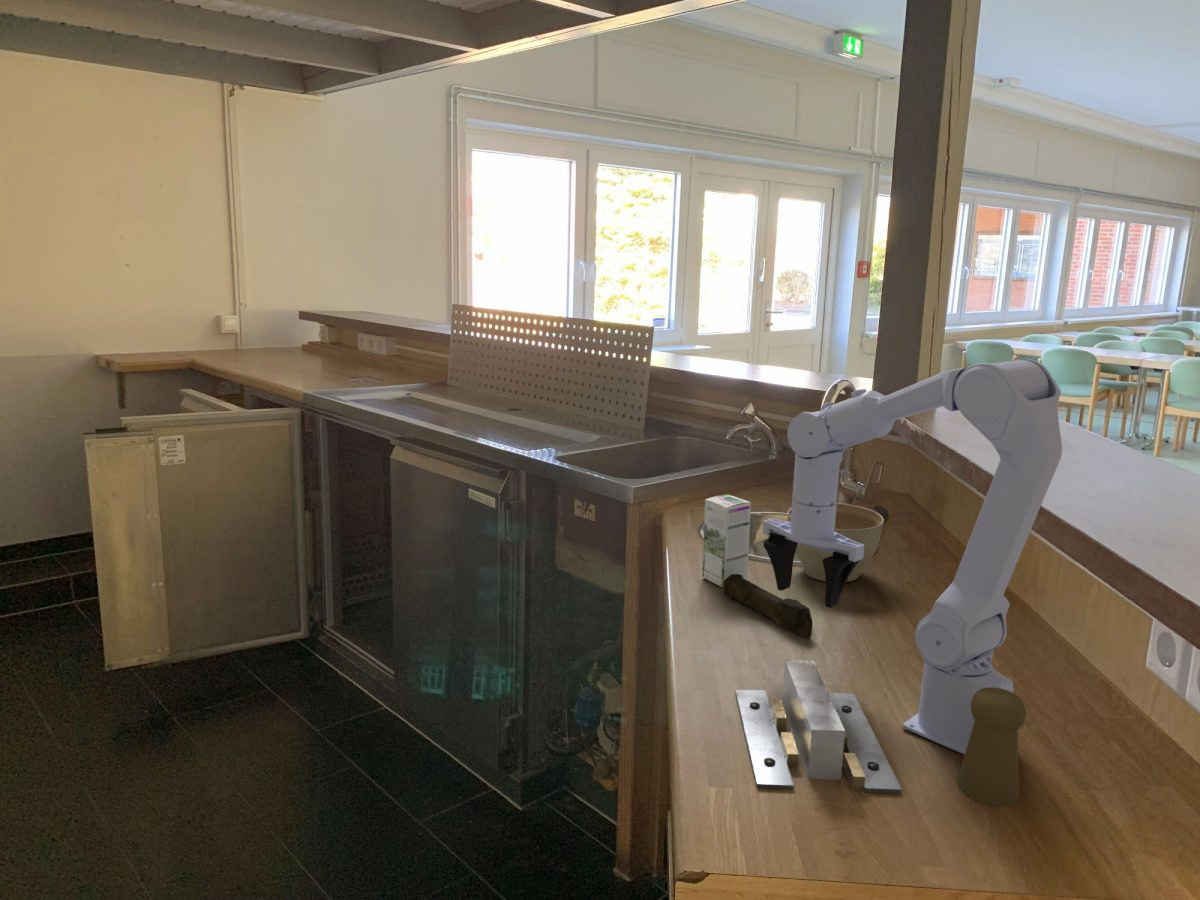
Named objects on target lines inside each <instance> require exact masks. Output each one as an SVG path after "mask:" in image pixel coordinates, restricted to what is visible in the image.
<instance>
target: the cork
mask: <svg viewBox="0 0 1200 900" xmlns="http://www.w3.org/2000/svg"><path fill="white" fill-rule="evenodd" d="M971 712H972V715H973V717H974V719H975V721H974V725H973V728H972V732H971V735H970V738H969V742H968V745H967V749H966V752H965V755H963V759H962V763H961V767H960V769H959V774H958V776H957V781H956V785H957V788H958V789H959V791H961V792H962V793H963V794H964V795H965V796H967V798H970V799H971V800H973V801H976V802H977V803H981V804H984V805H987V806H992V807H1009V806H1011V805H1015V804H1016V803H1017V802H1018V801H1019V797H1020V783H1019V782H1020V780H1019V779H1020V778H1019V777H1020V776H1019V773H1020V772H1019V729H1020V728H1022V727H1023V726H1024V724H1025V721H1026V716H1027V708H1026V705H1025V703H1024V701H1023V699H1022V698H1021V697H1020V696H1018V695H1017V694H1015V693H1014V692H1013V693H1012V692H1010V691H1007V690H1005V689H1001V688H994V687H990V688H983V689H980V690H979V691H977V692H976V693H975V694H974V696H973V698H972V701H971Z"/></svg>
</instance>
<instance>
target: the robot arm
mask: <svg viewBox="0 0 1200 900" xmlns="http://www.w3.org/2000/svg"><path fill="white" fill-rule="evenodd" d="M1061 394H1062V390H1061V388H1060V386H1059V385H1058V384H1057V383H1056V381H1055V379H1054V378H1053V376H1052V375H1051V373H1050V372H1049V370H1048V368H1046V366H1045V365H1043V363H1041V362H1039V361H1038V360H1035V359H1033V358H1032V359H1031V358H1026V357H1025V358H1023V357H1021V358H1015V359H1013V360H1011V361H1010V360H1009V361H1002V362H1001V361H1000V362H993V363H988V362H983V363H982V362H981V363H980V362H979V363H976V364H975V363H974V364H973V365H970V366H967V367H962V368H955V369H950V370H946V371H942V372H940V373H937V374H935V375H933V376H930V377H928V378H926V379H923V380H921V381H918V382H916V383H914V384H911V385H909V386H906V387H904V388H901V389H899V390H897V391H894V392H892V393H890V394H886V395H884V394H883V393H880V392H878V391H876V390H868V391H867V389H866V388H862V389H856V390H854V391H852V392H850V396H851V397H850V398H847V399H845V400H842V401H839V402H837V403H835V402H833V401H830V402H826V403H823V404H822V409H821V410H817V411H812V412H811V411H802V412H800V413H799V414H798V415H796V416H794V418H792V419H791V421H790V422H789V424H788V428H787V441H788V444H789V446H790V448H791V450H792V451H793V452H794V453H795V454H794V457H795V458H794V471H793V483H792V484H793V487H792V501H791V508H792V511H791V522H789V521H788V520H787V521H786V520H780V519H775V518H773V517H772V518H769V519H766V520H763V524H762V526H763V527H762V534H763V535H765V536H768V538H767V539H765V540H764V541H763V548H764V549H765V551H766V554H767V555H768V557H769V560H770V562H771V565H772V568H773V573H774V577H775V582H776V588H777V591H780V592H782V591H785V590H787V589H790V587H791V584H792V579H793V566H794V560H795V555H796V553H795V551H796V548H797V544H798V543H801V544H804V545H807V546H811V547H814V548H817V549H821V550H824V551H827V552H830V553H833V556H830V557H827V558H825V559H823V565H824V570H825V578H826V581H825V590H824V606H825V607H826V608H829V609H832V608H833V607H835V606H837V605H838V604H839V601H840V598H841V595H842V592H843V589H844V587H845V585H846V583H847V582H846V581H847V579H848V577H849V575H850V574H851V572H852V571H853V569H854V568H855V566H856V565H857V564H858V562H859V560H861V559H863V555H864V544H861V543H858V542H855V541H853V540H851V539H849V538H846V537H844V536H842V535H840V534H838V533H836V532H834V529H835V517H836V504H837V503H838V489H839V478H840V468H841V467H840V465H841V463H843V456H844V452H845V451H846V450H847V449H848V448H849V447H850V448H851V447H853V446H856V445H859V444H862V443H865V442H868V441H872V440H875V439H878V438H880V437H884V436H886V435H888V434H889V433H890V432H891V431H892V429H893V427H894V424H895V421H898V420H901V419H905V418H908V417H912V416H915V415H919V414H921V413H924V412H928V411H931V410H932V411H933V410H935V409H938V408H941V407H943V408H945V409H946V410H948V411H949V412H957V411H959V412H960V414H961V415H963V417H964V418H965V419H966V420H967V421H968V422H969V423H970V424H971V425H972V426H973V427H974V428H975V429H976V430H977V431H978V432H979V433H980V434H981V435H983V436H984V438H985V439H987V440H988V441H989V442H990V444H992V445H993V447H994V449H995V451H996V452H997V454H998V455H999V462H998V465H997V467H996V470H995V472H994V474H993V475H994V476H993V478H992V480H991V482H990V483H991V484H990V485H989V489H988V491H987V492H986V495H985V498H984V500H983V504H982V506H981V507H980V511H979V514H978V516H977V519H976V522H975V524H974V526H973V529H972V532H971V535H970V537H969V539H968V542H967V545H966V547H965V550H964V553H963V555H962V558H961V560H960V563H959V566H958V568H957V570H956V573H955V575H954V579H953V581H952V583H950V585H949V586H948V587H947V588H946V589H945V590H944V592H943V593H941V595H940V596H939V597H938V598H937V599H936V601H935V602H934V604H933V607H932V609H931V611H930V612H929V614H928V615H926V616H924V617H923V618H921V620H919V622H918V624H917V626H916V627H915V628H916V629H915V632H914V633H915V635H914V639H915V643H916V646H917V649H918V651H919V653H920V655H921V657H922V658H923V660H922V661H923V670H922V679H921V689H920V697H919V706H918V713H916V714H915V715H913V716H912V717H910V718H909V719H907V720H906V721H905V722H903V724H902V727H903V728H904V729H905V730H907V731H909V732H912V733H915V734H917V735H919V736H921V737H924V738H926V739H928V740H930V741H932V742H935V743H936V744H939V745H942V746H943V747H946V748H948V749H950V750H953V751H954V752H955V751H956V752H958V753H960V754H962V755H963V756H965V752H966V749H967V745H968V742H969V738H970V735H971V732H972V728H973V725H974V721H975V719H974V717H973V715H972V712H971V701H972V698H973V696H974V694H975V693H976V692H977V691H979V690H980V689H983V688H990V687H994V688H1001V689H1005V690H1007V691H1010V692H1012V693H1014V683H1013V681H1012V679H1011V678H1009V677H1007V676H1006V675H1003V674H1001V673H1000V672H999V671H997V670H996V669H995V668H994V667H993V658H994V657H993V655H994V650H995V649H998V648H999V647H1000V646H1001V645H1003V643H1004V641H1005V639H1006V637H1007V634H1008V633H1007V632H1008V627H1007V612H1008V610H1009V608H1010V602H1009V601H1008V599H1007V598H1006V597H1005V595H1004V594H1005V593H1006V590H1007V587H1008V585H1009V582H1010V580H1011V578H1012V576H1013V573H1014V571H1015V569H1016V566H1017V564H1018V561H1019V559H1020V556H1021V554H1022V553H1023V549H1024V547H1025V545H1026V542H1027V540H1028V537H1029V535H1030V532H1031V530H1032V528H1033V526H1034V524H1035V522H1036V521H1035V520H1036V518H1037V516H1038V513H1039V511H1040V509H1041V506H1042V504H1043V501H1044V499H1045V497H1046V496H1047V495H1046V494H1047V491H1048V489H1049V487H1050V485H1051V482H1052V481H1053V478H1054V475H1055V474H1056V470H1057V469H1058V466H1059V463H1060V461H1061V458H1062V454H1063V445H1062V438H1061V429H1060V422H1059V412H1058V403H1059V400H1060V397H1061Z"/></svg>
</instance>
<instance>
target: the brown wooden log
mask: <svg viewBox="0 0 1200 900" xmlns="http://www.w3.org/2000/svg"><path fill="white" fill-rule="evenodd" d="M723 587H724V588H723V593H724V595H725V596H726V595H728V596H730V598H732V599H731V600H734V599H736V600H738V601H739V602H741V603H743V604H745V605H747V606H749V607H750V608H752V609H754V610H755V611H758V612H759V613H761V614H763V615H765V616H767V617H769V618H771V619H772V620H773V621H776V623H778V624H777V625H778V627H779V628H780V629H782V630H785V631H786V632H789V633H792V634H794V635H797V636H799V637H804V638H806V639H811V637H812V632H813V631H812V630H813V619H812V615H811V614H812V613H811V610H810V608H809V607H808V606H806V605H805V604H803V603H801V602H800V601H798V600H797V599H792V598H790V597H786V598H784V599H783V598H781V597H779V596H777V595H775V594H773V593H771V592H769V591H768V590H766V589H764V588H761V586H758V585H757V584H754V583H753V582H751V581H749V580H748V579H747V580H745V579H744V578H743V577H742V575H740V574H731V575H730V576H729V577H728V578H727V579H725V580H724V582H723ZM728 596H727V597H728Z"/></svg>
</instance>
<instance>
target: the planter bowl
mask: <svg viewBox="0 0 1200 900" xmlns="http://www.w3.org/2000/svg"><path fill="white" fill-rule="evenodd" d="M791 511H792V507H790V508H789V509H788V510H787V512H786V513H787V519H788V520H787V522H791ZM884 522H885V519H884V517H883V516H882V515H881V514H880V513H879V512H877V511H875V510H873V509H870V508H867V507H863V506H860V505H853V504H849V503H841V502H837V504H836V517H835V529H834V532H836V533H838V534H840V535H842V536H844V537H846V538H849V539H851V540H853V541H855V542H858V543H861V544H864V555H863V559H861V560H859V562H858V564H857V565H856V566H855V568H854V569H853V571H852V572H851V574H850V575H849V577H848V579H847V581H846V583H847V582H853V581H855V580H857V579H858V578H859V577H860V574H861V571H862V570H863V569H864V568H865V567H866V566H867V564H868V563H869V562H870V561H871V560H872V558H873V556H874V555H875V553H876V551H877V549H878V546H879V543H880V540H881V534H882V529H883V527H884ZM795 555H796V557H797V559H798V560H799V562H800V563H801V565H802V568H803V569H802V570H803V572H804V573H805V575H807V576H808V577H810V578H812V579H815V580H817V581H818V580H819V581H822V582H826V578H825V570H824V565H823V559H825V558H827V557H830V556H833V553H830V552H827V551H824V550H821V549H817V548H814V547H811V546H807V545H804V544H801V543H798V544H797V548H796V551H795Z"/></svg>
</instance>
